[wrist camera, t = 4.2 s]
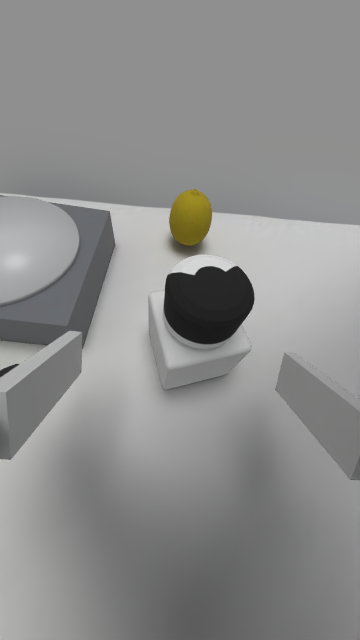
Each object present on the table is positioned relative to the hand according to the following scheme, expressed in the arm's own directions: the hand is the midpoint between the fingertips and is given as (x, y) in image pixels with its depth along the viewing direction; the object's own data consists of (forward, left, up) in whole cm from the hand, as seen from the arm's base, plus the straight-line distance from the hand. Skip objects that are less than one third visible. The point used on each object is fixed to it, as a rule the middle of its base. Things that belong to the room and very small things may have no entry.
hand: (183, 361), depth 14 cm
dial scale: (+19, -12, -9) cm, 24 cm away
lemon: (0, -22, -9) cm, 23 cm away
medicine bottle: (-1, -5, -9) cm, 10 cm away
